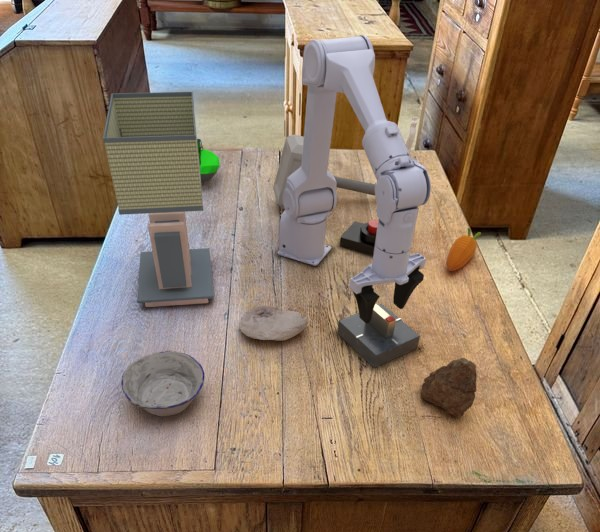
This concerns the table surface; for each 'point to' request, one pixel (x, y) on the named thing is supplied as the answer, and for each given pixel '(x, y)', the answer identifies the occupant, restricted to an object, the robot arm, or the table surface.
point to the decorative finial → (411, 133)
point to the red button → (373, 226)
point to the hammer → (293, 161)
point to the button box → (359, 238)
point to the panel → (377, 339)
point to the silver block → (382, 322)
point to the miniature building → (207, 163)
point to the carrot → (462, 251)
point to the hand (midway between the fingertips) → (381, 312)
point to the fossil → (272, 323)
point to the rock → (452, 386)
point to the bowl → (163, 382)
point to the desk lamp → (160, 190)
